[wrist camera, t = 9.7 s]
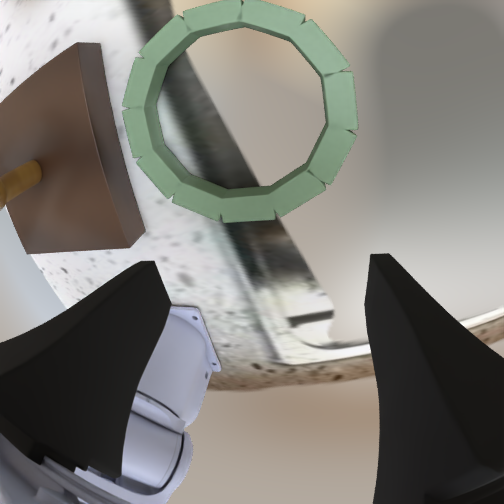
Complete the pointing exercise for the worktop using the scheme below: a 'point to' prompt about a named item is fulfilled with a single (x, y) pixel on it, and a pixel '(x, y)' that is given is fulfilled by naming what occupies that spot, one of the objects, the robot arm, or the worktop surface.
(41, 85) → the peg stand
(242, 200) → the ring
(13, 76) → the worktop surface
